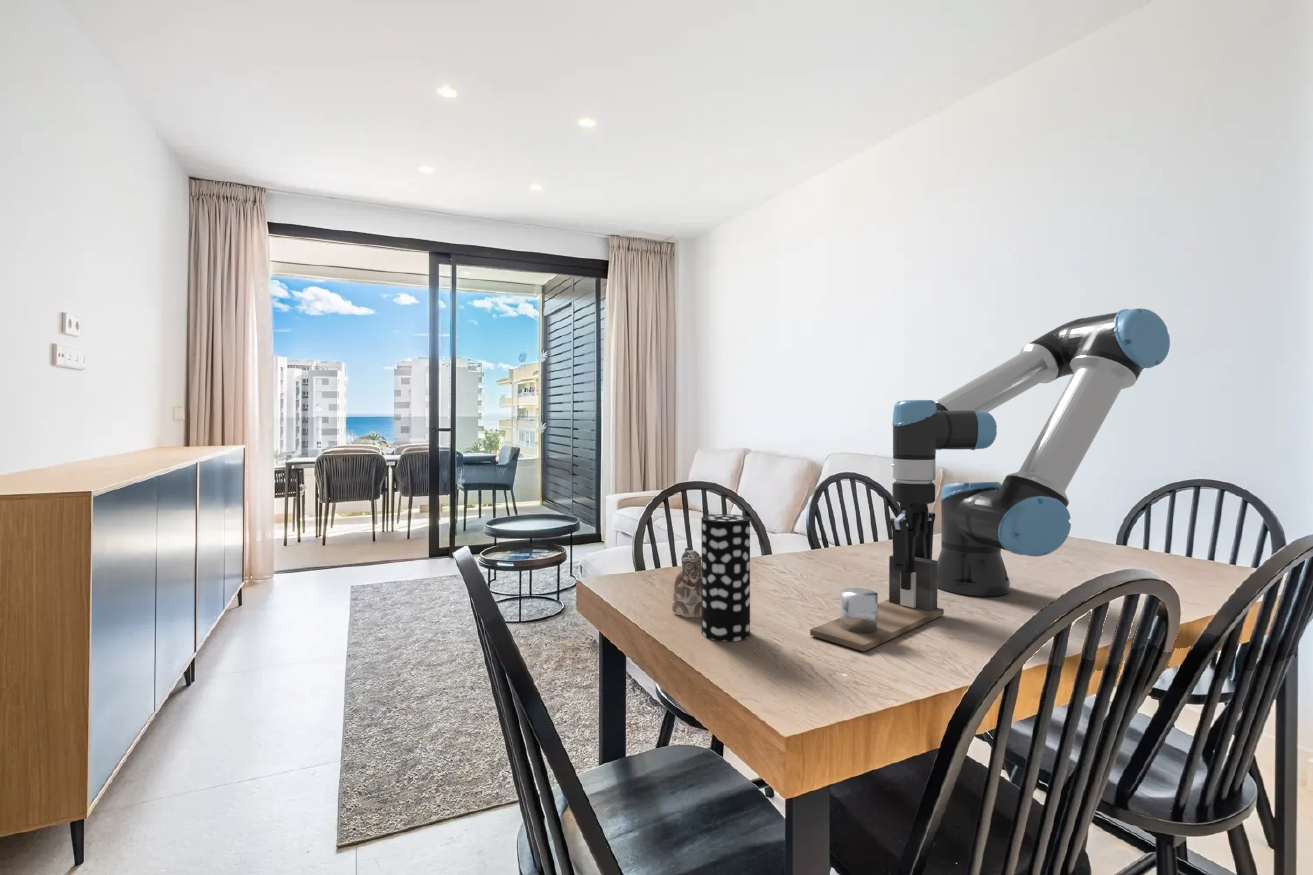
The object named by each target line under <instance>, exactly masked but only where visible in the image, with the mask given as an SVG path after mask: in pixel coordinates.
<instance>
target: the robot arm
mask: <svg viewBox="0 0 1313 875" xmlns="http://www.w3.org/2000/svg"><path fill="white" fill-rule="evenodd" d="M1170 347H1171V340H1170V333H1169V332H1168V327H1167V325H1166V323H1165V321H1164V320H1163V319H1162V318H1161V316H1160V315H1158V314H1157V313H1156V312H1154V311H1152V310H1150V309H1146V308H1131V309H1127V308H1124V309H1121V310H1119V311H1117V312H1111V313H1106V314H1099V315H1094V316H1088V317H1087V316H1086V317H1082V318H1078V319H1074V320H1071V321H1068V322H1066V323H1064V324H1061V325H1059V326H1057V327H1056V328H1054V329H1052V330H1051V331H1048V332H1047V333H1045V334H1043V335H1042V336H1040V337H1038V338H1036V339H1034V340H1033V341H1031V342H1028V343H1027V344H1026V345H1024V346H1023V347H1021V348H1020V351H1019V354H1017V355H1015V356H1014V357H1012V358H1010V359H1009V360H1007V361H1004V362H1003V363H1001V364H1000V365H999V364H998V366H996V367H994V368H993V369H990V370H989V371H987V372H985V373H984V374H981V375H979V376H978V377H976V378H974V379H972V380H971V381H969V382H967V383H966V384H964V385H962V386H960V387H958V388H957V389H955V390H953V391H951V392H950V393H948V394H946V395H944V396H943V397H941V398H938V399H937V400H933V399H907V400H905V399H904V400H897V401H896V402H895V403H894V406H893V413H892V415H893V416H892V422H891V426H892V463H891V467H892V478H893V480H895V481H894V482H893V483H892V500H893V501H894V502H896V503H898V504H899V507H898V511H897V515H898V516H897V517H896V518H893V517H892V518H890V520H889V521H890V522H889V523H890V526H891V531H892V532H891V533H892V555H893V566H894V569H895V570H897V571H900V605H903V606H908V607H912V608H915V607H916V573H915V572H913V571H914V559H915V557H918V558H924V559H930V560H933V546H934V545H933V544H934V526H935V520H936V513H935V512H929V507H928V505H929V504H930V505H931V504H933V503H935V501H936V484H935V483H934V482H933V481H935V480H936V479H937V478H936V477H937V476H936V474H937V473H936V472H937V466H936V464H937V463H936V460H937V459H936V458H937V457H936V454H937V451H940V450H953V451H954V450H955V451H956V450H960V451H961V450H971V451H975V450H983V449H987V448H990V447H991V446H992V444H993V443H994V442H995V441H996V438H997V435H998V434H997V433H998V432H997V431H998V430H997V429H998V425H997V421H996V419H995V418H994V416H993V415H992V414H991V413H990V412H992V411H993V410H995V409H996V408H998V407H999V406H1001V405H1004V404H1005V403H1007V402H1008V401H1010V400H1012V399H1014V398H1016V397H1018V396H1019V395H1021V394H1023V393H1024V392H1026V391H1028V390H1030V389H1032V388H1033V387H1035V386H1037V385H1039V384H1040V383H1041V384H1049V383H1051V382H1052V383H1053V381H1055V380H1057V379H1060V378H1062V377H1066V376H1070V375H1072V376H1071V377H1070V379H1069V381H1068V383H1067V384H1066V387H1065V388H1064V390H1063V392H1062V394H1061V396H1060V397H1059V399H1058V401H1057V403H1056V404H1055V406H1054V408H1053V410H1052V412H1051V413H1050V415H1049V416H1048V418H1047V420H1046V422H1045V424H1044V426H1043V428H1042V429H1041V431H1040V433H1039V435H1038V436H1037V438H1036V440H1035V442H1034V444H1033V446H1032V447H1031V449H1030V450H1029V452H1028V454H1027V456H1026V458H1025V459H1024V462H1023V463H1022V465H1021V467H1020V469H1019V470H1018V471H1017V472H1013V473H1010V474H1009V473H1008V474H1007V475H1006V476H1005V478H1004V479H1003V482H1002V483H1001V482H999V481H981V482H980V481H976V482H952V483H950V482H949V483H946V484H945V485H944V486H943V487H942V489H941V490H942V491H941V497H940V504H941V506H940V507H941V508H940V509H941V511H940V512H941V513H940V514H941V518H940V519H941V520H940V522H941V523H940V524H941V528H940V529H941V534H940V537H941V538H940V540H941V545H940V552H939V555H938V558H937V559H936V561H938V575H937V589H940V590H942V591H945V592H949V593H954V594H959V595H964V596H965V595H966V596H972V597H973V596H974V597H999V596H1004V595H1007V593H1008V594H1009V593H1010V592H1011V581H1010V578H1009V576H1008V572H1007V569H1006V566H1005V563H1004V561H1003V560H1004V559H1003V557H1002V550H1004V551H1008V552H1010V553H1012V554H1015V555H1021V556H1029V557H1043V556H1046V555H1047V556H1048V555H1051V554H1052V553H1054V552H1055V551H1056V550H1057V551H1058V549H1059V548H1061V547H1062V546H1063V544H1064V543H1065V542H1066V540H1067V538H1068V536H1069V535H1070V532H1071V527H1072V524H1071V522H1069V520H1071V514H1070V511H1069V509H1068V506H1069V504H1070V500H1069V498H1068V496H1067V493H1066V491H1067V489H1068V486H1069V484H1070V483H1071V481H1072V480H1073V478H1074V475H1075V474H1076V472H1077V470H1078V468H1079V467H1080V465H1081V463H1082V461H1083V459H1084V457H1085V456H1086V454H1087V452H1088V451H1089V449H1090V447H1091V445H1092V443H1093V441H1094V439H1095V438H1096V436H1097V434H1098V432H1099V431H1100V429H1101V427H1102V425H1103V423H1105V422H1104V421H1105V419H1106V418H1107V416H1108V414H1109V412H1110V411H1111V408H1112V407H1113V405H1114V403H1115V401H1116V400H1117V398H1118V396H1119V394H1120V393H1121V391H1122V390H1124V389H1129V388H1131V387H1133V386H1135V384H1136V382H1137V381H1138V379H1139V377H1140V375H1141V373H1142V371H1143V369H1151V368H1152V369H1153V368H1154V367H1156V366H1159V365H1161V363H1163V362H1164V361H1165V360H1166V358H1167V356H1168V354H1169V352H1170Z"/></svg>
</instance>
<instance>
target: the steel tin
mask: <svg viewBox="0 0 1313 875" xmlns="http://www.w3.org/2000/svg"><path fill="white" fill-rule="evenodd" d="M878 598H879V597H878V592H876V591H875V590H871V589H868V588H862V587H846V588H842V589H841V590H840V618H841V628H842V629H844V630H846V631H850V632H854V633H873V632H876V631H877V629H878V603H879V602H878Z"/></svg>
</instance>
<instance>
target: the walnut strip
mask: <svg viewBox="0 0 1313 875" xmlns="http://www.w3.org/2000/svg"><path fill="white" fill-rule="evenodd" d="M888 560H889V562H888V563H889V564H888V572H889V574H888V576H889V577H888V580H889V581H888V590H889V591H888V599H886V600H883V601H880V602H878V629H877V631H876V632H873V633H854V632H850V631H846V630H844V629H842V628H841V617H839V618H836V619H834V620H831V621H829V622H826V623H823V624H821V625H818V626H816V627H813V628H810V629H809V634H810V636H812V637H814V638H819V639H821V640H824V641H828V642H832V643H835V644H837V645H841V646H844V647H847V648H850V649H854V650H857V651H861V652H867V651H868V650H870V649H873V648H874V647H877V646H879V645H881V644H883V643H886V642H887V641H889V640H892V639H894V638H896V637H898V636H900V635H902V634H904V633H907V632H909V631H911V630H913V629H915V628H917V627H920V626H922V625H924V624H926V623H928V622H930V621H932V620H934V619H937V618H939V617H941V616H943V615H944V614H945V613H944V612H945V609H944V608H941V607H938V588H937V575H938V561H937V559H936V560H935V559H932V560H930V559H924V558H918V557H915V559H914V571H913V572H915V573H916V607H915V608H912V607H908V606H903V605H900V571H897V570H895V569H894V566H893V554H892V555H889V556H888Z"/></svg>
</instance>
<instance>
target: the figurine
mask: <svg viewBox="0 0 1313 875" xmlns="http://www.w3.org/2000/svg"><path fill="white" fill-rule="evenodd" d="M701 560H702V555H700V554H699V552H697V551H696V550H694V549H693V550H692V549H691V548H690V547H685V548H684V552H683V554H682V555H681V567H682V571H680V572H679V573H678V574H677V576H676V577H675V579H674V583H673V593H672V594H673V596H672V601H671V610H672V611H673V612H674V613H676V614H678V615H682V616H681V617H683V616H684V617H683V618H687V617H692V618H694V617H696V618H702V567H701ZM673 612H672V613H673ZM676 614H675V615H676ZM678 615H677V616H678Z"/></svg>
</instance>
